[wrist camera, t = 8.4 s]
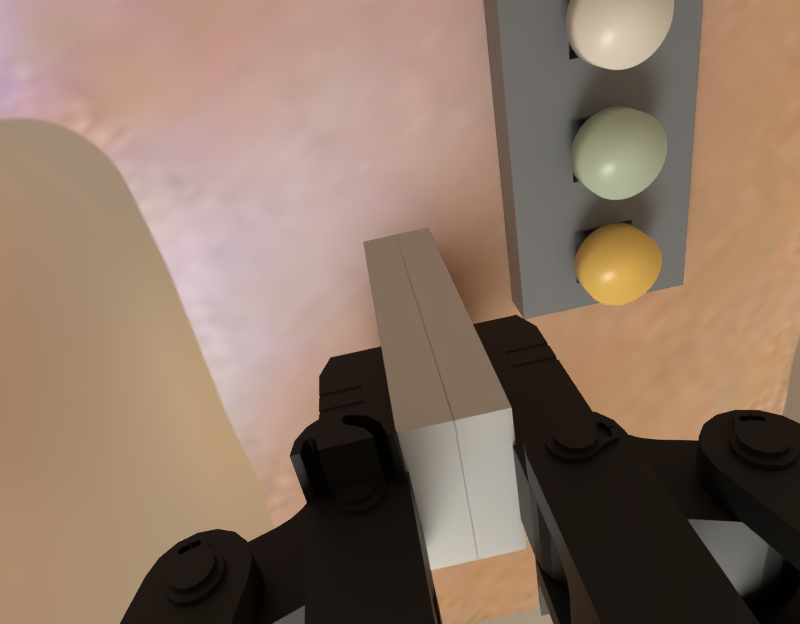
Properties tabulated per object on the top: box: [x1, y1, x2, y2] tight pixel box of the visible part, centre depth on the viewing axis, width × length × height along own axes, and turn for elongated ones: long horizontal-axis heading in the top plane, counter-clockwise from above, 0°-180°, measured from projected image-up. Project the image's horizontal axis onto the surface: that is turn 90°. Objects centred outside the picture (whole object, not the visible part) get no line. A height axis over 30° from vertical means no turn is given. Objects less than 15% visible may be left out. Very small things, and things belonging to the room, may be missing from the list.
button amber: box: [574, 223, 662, 305], centre depth 40 cm, size 5×5×4 cm
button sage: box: [570, 106, 667, 200], centre depth 36 cm, size 5×5×4 cm
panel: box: [484, 0, 703, 319], centre depth 38 cm, size 23×12×3 cm, turn 10°
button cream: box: [566, 0, 674, 70], centre depth 32 cm, size 5×5×4 cm
